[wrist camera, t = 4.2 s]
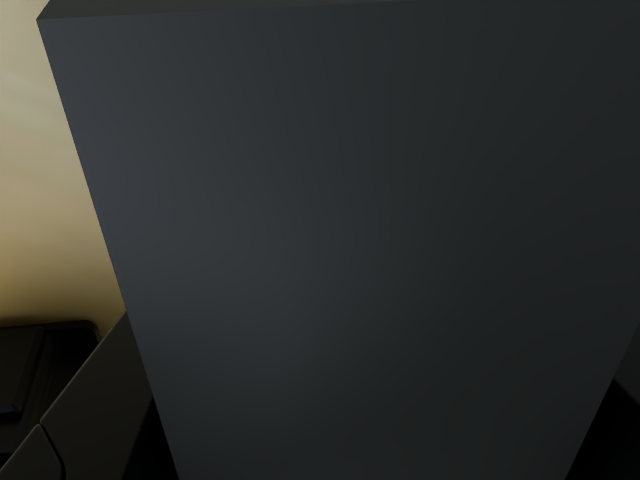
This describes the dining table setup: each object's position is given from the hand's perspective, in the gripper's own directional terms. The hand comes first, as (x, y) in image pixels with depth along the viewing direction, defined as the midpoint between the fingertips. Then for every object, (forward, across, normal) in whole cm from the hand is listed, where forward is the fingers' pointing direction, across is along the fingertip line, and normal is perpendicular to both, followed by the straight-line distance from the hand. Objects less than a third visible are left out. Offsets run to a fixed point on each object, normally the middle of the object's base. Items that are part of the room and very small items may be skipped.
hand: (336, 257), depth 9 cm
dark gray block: (+2, 0, 0) cm, 2 cm away
